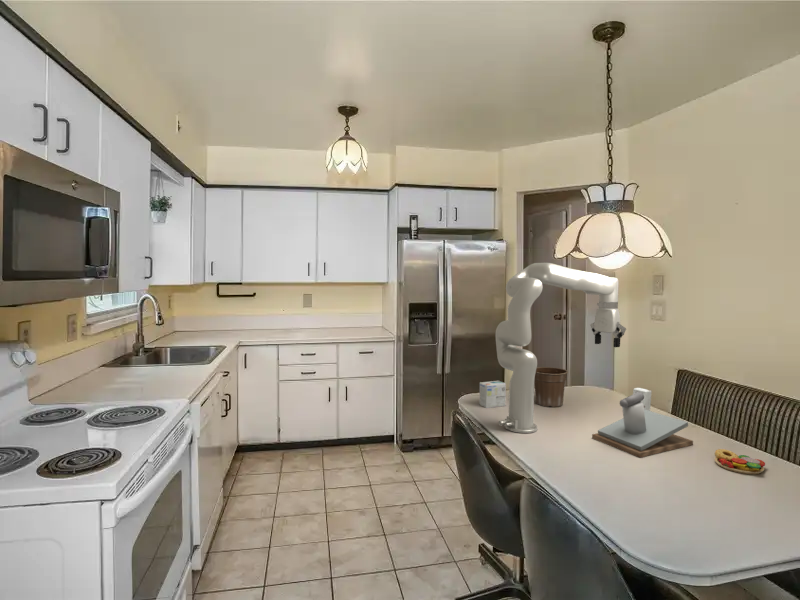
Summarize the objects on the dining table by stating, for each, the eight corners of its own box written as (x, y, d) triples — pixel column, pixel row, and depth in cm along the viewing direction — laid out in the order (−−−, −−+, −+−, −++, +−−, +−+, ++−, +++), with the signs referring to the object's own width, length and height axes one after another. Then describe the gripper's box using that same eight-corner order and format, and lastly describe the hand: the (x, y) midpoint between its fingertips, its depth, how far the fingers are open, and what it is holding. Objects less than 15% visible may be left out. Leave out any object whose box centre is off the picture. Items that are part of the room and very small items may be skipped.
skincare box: (631, 415, 199) (631, 388, 199) (637, 414, 202) (638, 387, 201) (644, 419, 194) (645, 391, 193) (650, 418, 196) (651, 390, 196)
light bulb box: (498, 402, 220) (498, 380, 219) (506, 406, 213) (506, 383, 213) (478, 404, 216) (478, 381, 215) (486, 408, 210) (486, 385, 209)
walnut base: (639, 457, 154) (640, 453, 154) (592, 438, 172) (592, 434, 172) (692, 444, 166) (693, 440, 166) (642, 427, 184) (643, 424, 184)
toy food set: (714, 455, 156) (714, 446, 156) (763, 465, 149) (764, 455, 149) (714, 469, 146) (714, 459, 145) (767, 480, 138) (767, 469, 138)
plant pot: (524, 403, 218) (524, 369, 217) (543, 397, 229) (543, 365, 228) (555, 411, 206) (555, 375, 205) (573, 404, 217) (574, 370, 216)
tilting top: (641, 451, 155) (636, 410, 153) (598, 434, 172) (593, 397, 170) (688, 426, 165) (684, 388, 163) (643, 412, 182) (639, 377, 180)
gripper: (585, 305, 204) (584, 343, 205) (619, 307, 188) (618, 349, 189) (597, 304, 207) (596, 342, 208) (632, 307, 191) (630, 347, 192)
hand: (607, 345), depth 198 cm, fingers open, 9 cm apart
